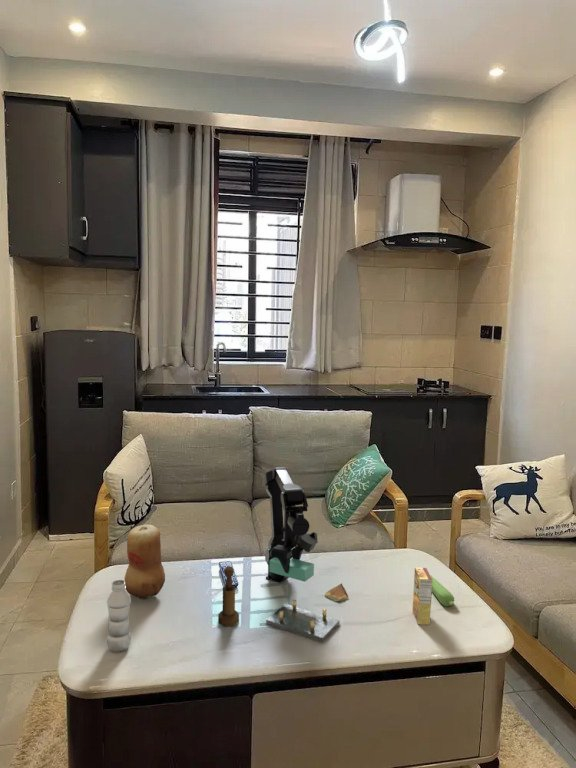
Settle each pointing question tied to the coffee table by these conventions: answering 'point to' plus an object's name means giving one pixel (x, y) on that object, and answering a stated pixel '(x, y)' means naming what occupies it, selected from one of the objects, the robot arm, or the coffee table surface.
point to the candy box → (422, 596)
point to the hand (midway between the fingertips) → (291, 569)
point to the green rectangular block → (293, 569)
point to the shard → (337, 593)
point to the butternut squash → (144, 562)
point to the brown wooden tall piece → (228, 602)
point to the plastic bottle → (118, 617)
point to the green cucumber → (442, 593)
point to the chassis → (303, 622)
